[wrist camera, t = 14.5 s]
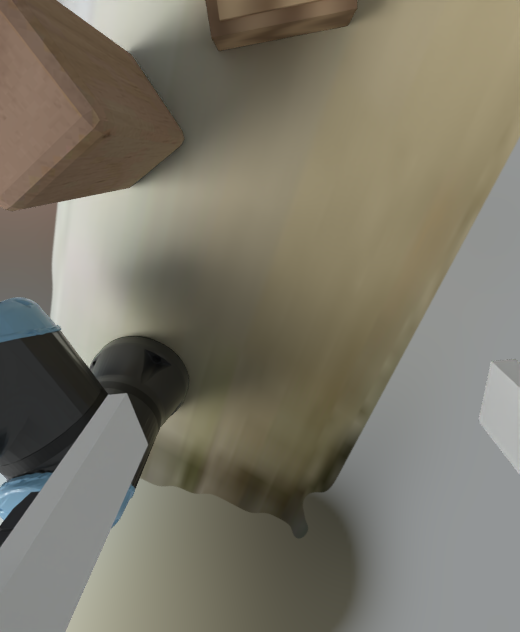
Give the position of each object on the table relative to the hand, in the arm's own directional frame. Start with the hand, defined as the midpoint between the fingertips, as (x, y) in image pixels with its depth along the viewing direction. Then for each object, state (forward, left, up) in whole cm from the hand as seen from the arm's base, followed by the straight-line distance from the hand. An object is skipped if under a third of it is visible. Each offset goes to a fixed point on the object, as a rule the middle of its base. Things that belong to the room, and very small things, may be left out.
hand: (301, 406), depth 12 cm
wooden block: (-16, +14, -32) cm, 38 cm away
